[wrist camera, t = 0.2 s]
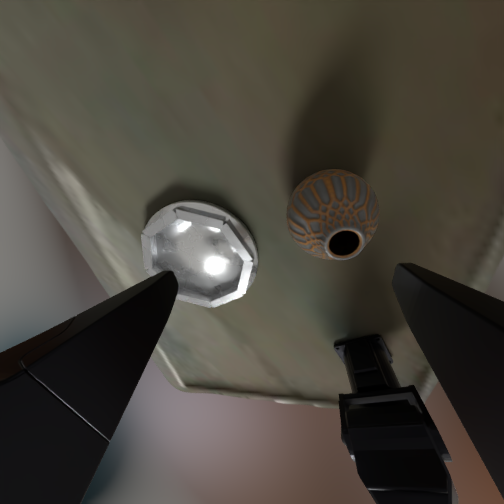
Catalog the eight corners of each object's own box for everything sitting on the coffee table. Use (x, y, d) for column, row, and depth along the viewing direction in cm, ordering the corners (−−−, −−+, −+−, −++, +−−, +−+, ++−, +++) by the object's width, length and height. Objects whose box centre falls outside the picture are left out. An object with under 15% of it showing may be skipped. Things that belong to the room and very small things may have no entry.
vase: (295, 240, 22) (301, 295, 15) (277, 178, 19) (273, 209, 12) (363, 223, 20) (409, 277, 13) (355, 151, 17) (409, 167, 10)
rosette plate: (279, 275, 25) (279, 286, 23) (197, 309, 30) (191, 320, 28) (210, 173, 20) (202, 177, 18) (125, 235, 25) (112, 244, 23)
